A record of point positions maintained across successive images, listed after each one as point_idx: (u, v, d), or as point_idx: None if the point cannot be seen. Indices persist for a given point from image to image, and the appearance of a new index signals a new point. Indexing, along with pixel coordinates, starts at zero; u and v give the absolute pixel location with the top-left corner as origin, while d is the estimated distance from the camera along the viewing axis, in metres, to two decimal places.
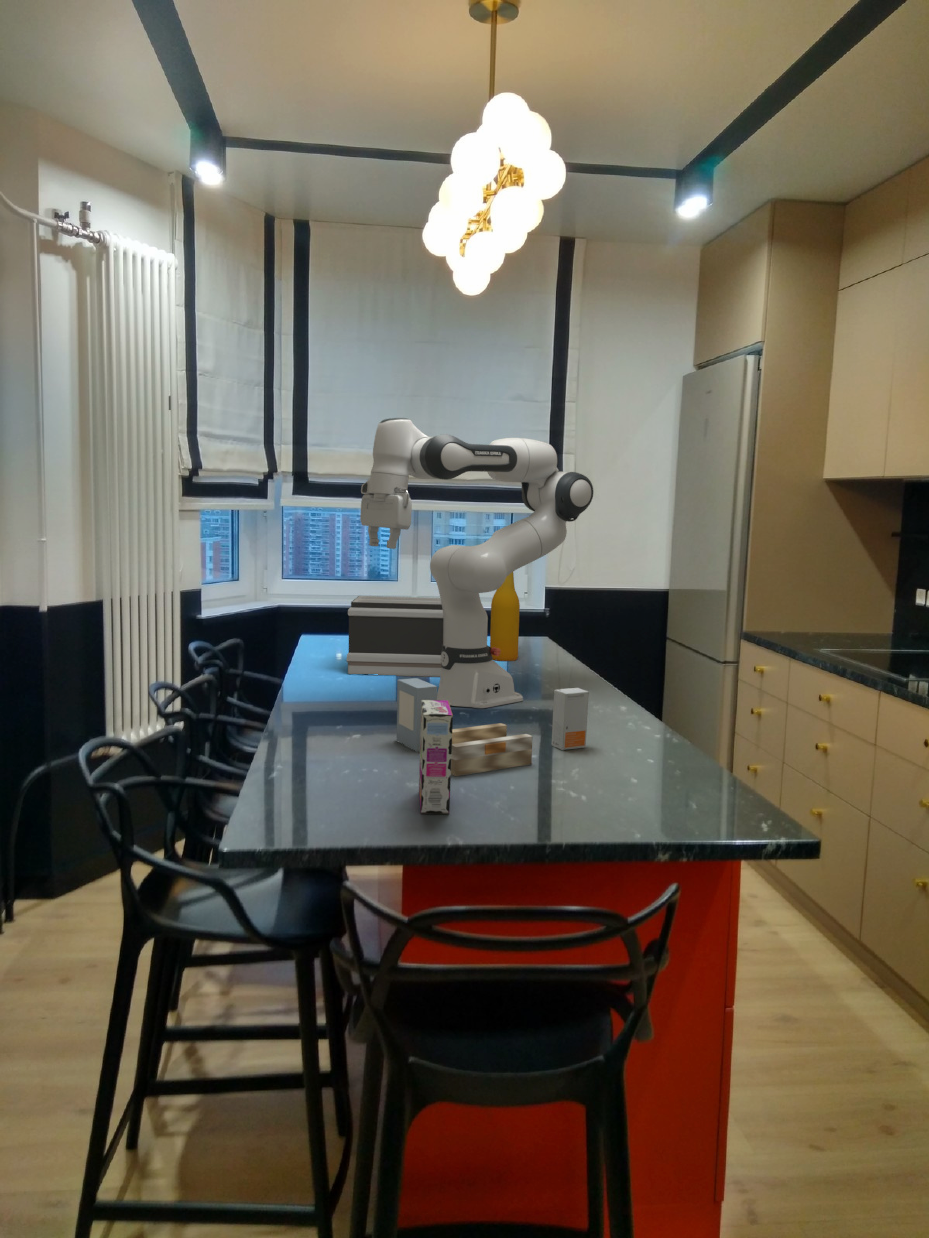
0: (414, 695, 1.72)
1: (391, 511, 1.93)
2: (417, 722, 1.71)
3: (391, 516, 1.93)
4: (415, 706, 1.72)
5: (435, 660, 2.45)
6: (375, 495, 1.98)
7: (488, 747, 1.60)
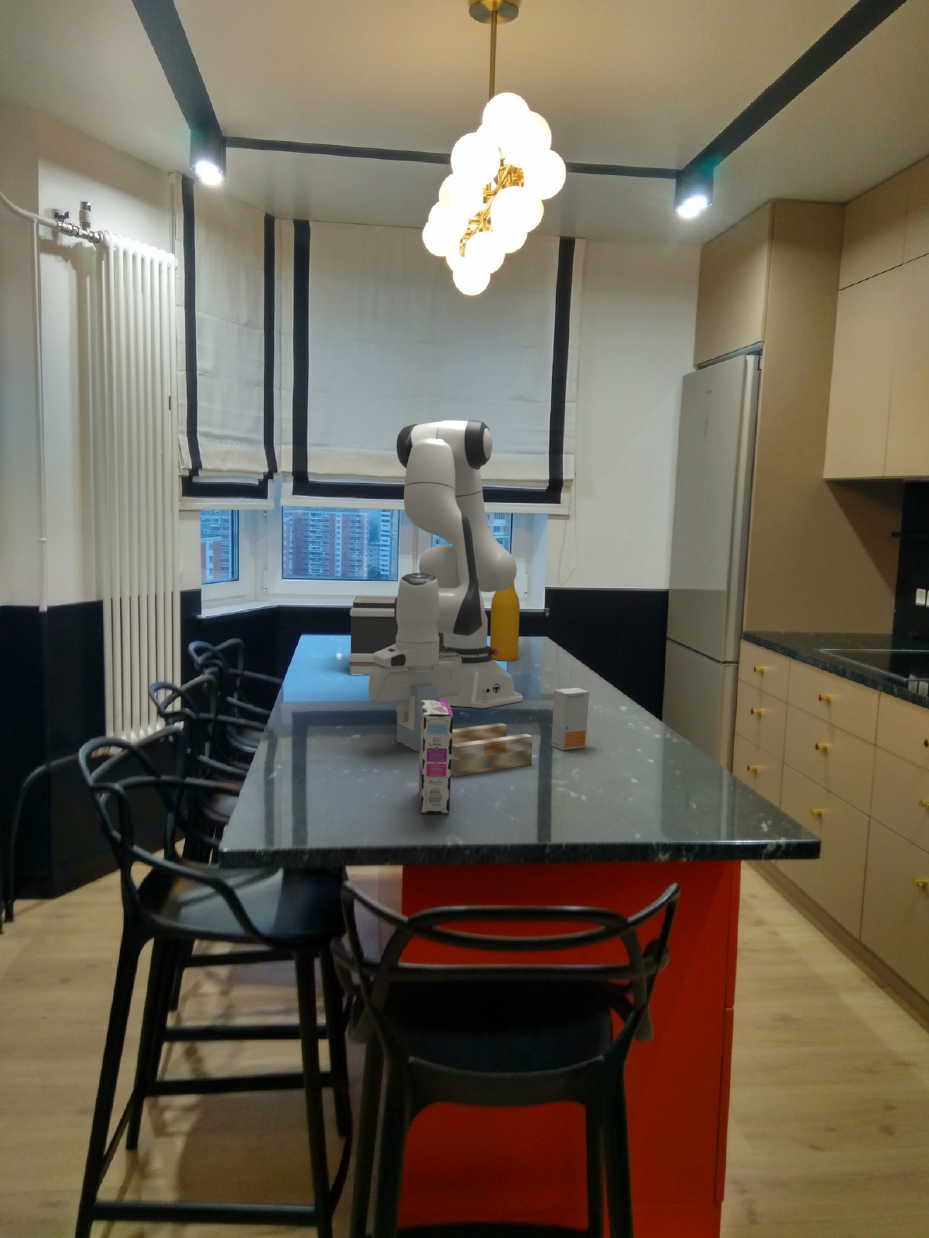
0: (414, 695, 1.72)
1: (449, 679, 1.77)
2: (417, 722, 1.71)
3: (450, 684, 1.77)
4: (415, 706, 1.72)
5: None
6: (424, 666, 1.72)
7: (488, 747, 1.60)
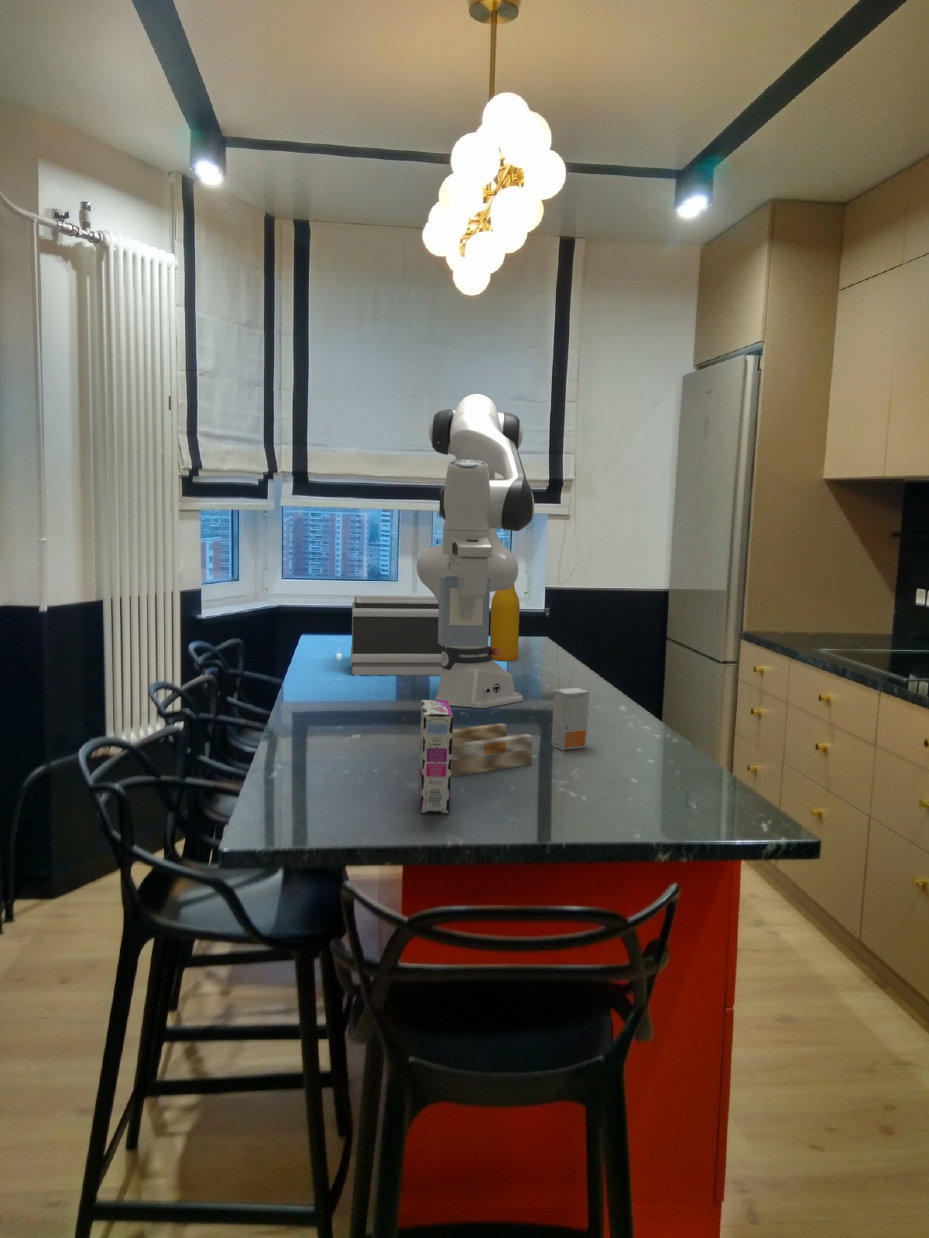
0: None
1: None
2: (488, 614, 1.64)
3: None
4: (486, 598, 1.63)
5: (439, 658, 2.47)
6: None
7: (488, 747, 1.60)
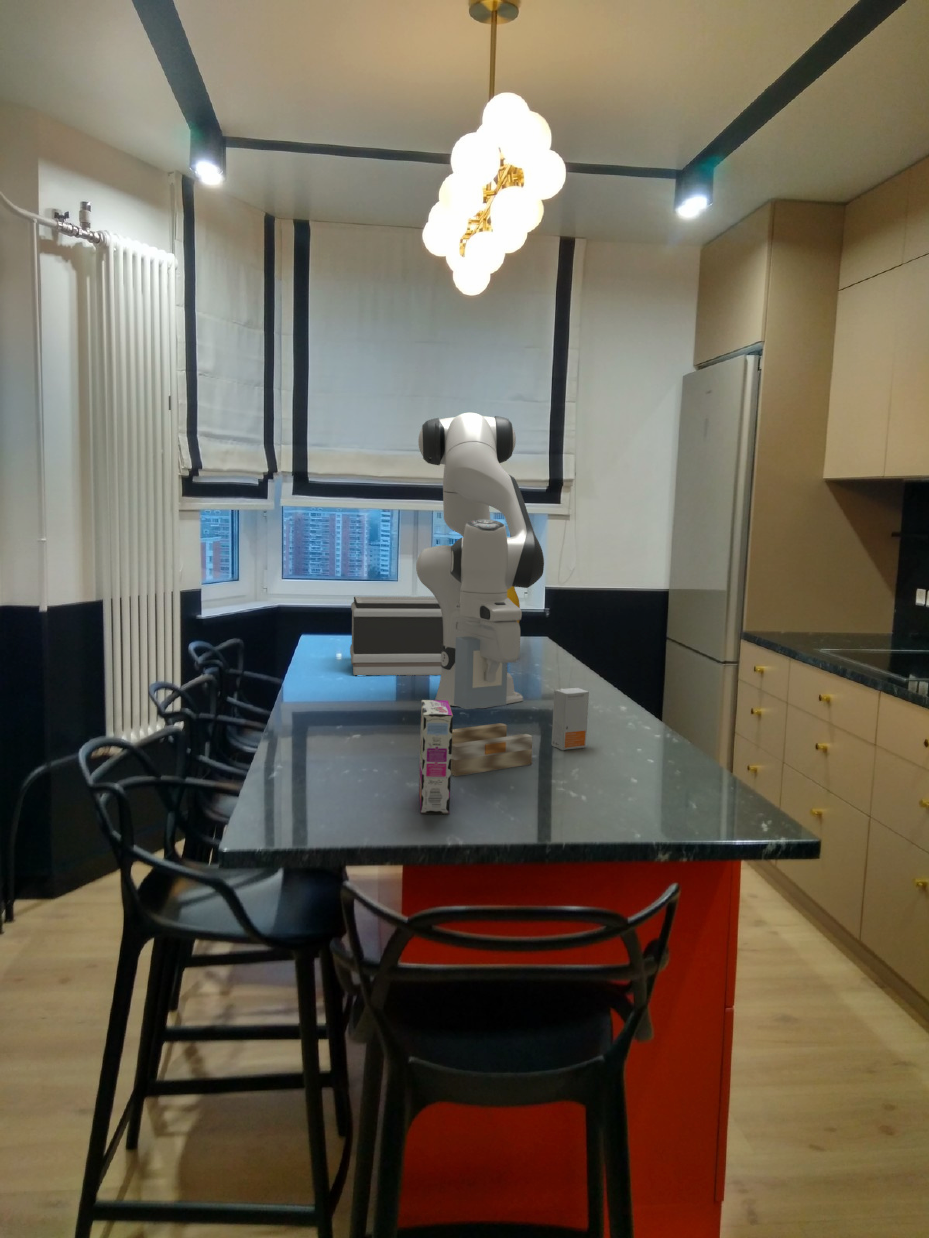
0: None
1: None
2: None
3: None
4: None
5: None
6: None
7: (488, 747, 1.60)
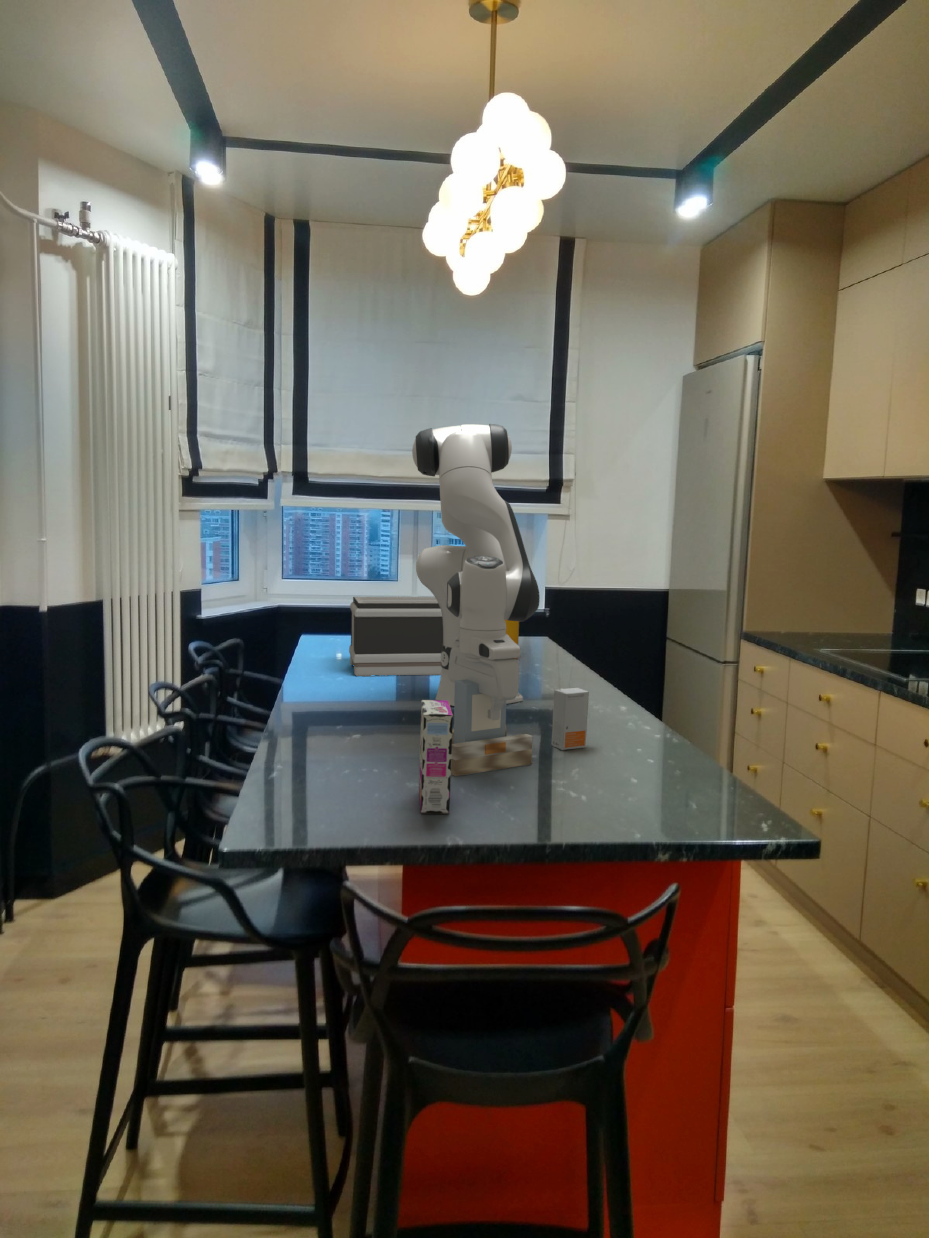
0: None
1: None
2: None
3: None
4: None
5: None
6: None
7: (488, 747, 1.60)
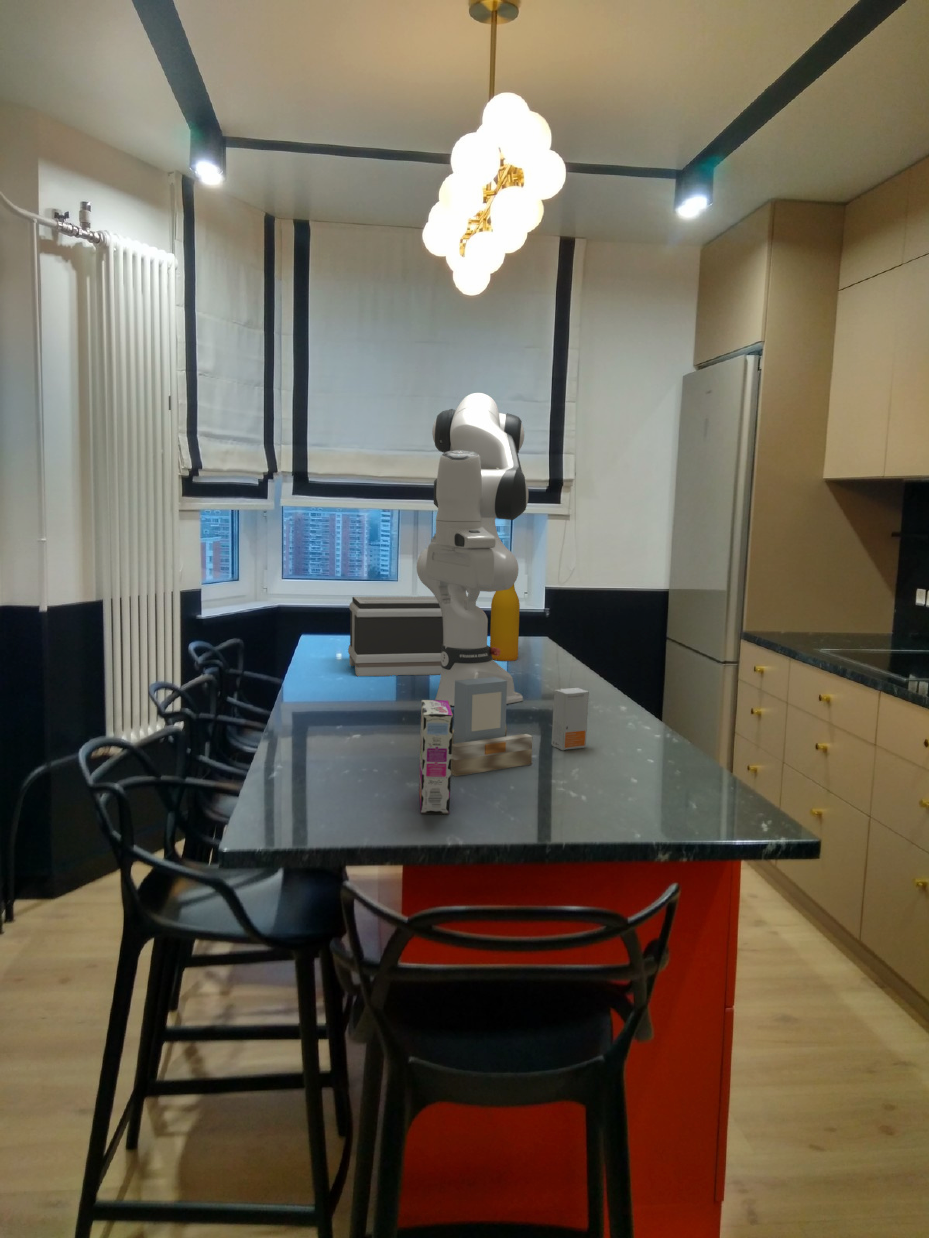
0: (501, 690, 1.64)
1: None
2: None
3: None
4: (503, 701, 1.65)
5: None
6: None
7: (488, 747, 1.60)
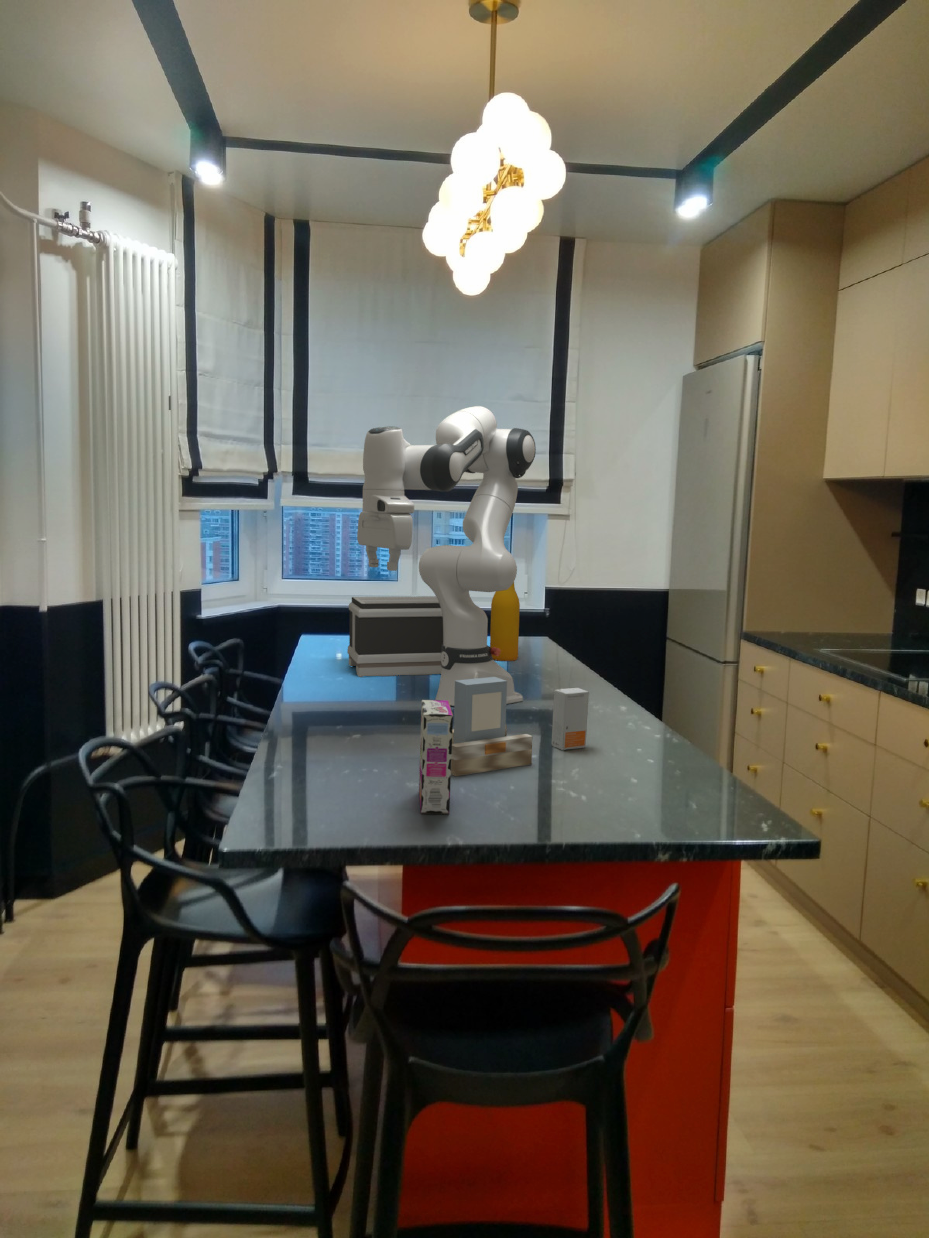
0: (501, 690, 1.64)
1: None
2: None
3: None
4: (503, 701, 1.65)
5: None
6: None
7: (488, 747, 1.60)
